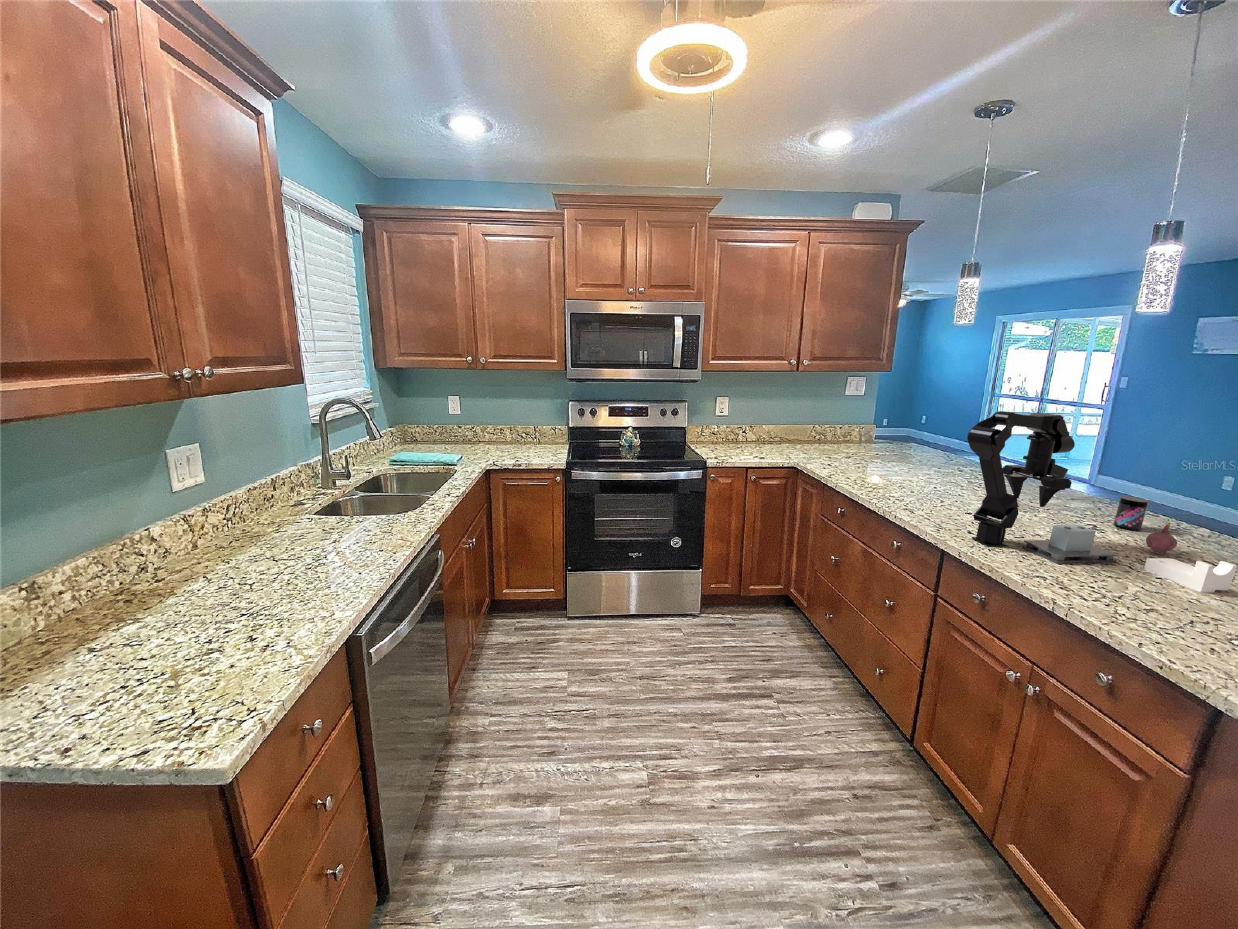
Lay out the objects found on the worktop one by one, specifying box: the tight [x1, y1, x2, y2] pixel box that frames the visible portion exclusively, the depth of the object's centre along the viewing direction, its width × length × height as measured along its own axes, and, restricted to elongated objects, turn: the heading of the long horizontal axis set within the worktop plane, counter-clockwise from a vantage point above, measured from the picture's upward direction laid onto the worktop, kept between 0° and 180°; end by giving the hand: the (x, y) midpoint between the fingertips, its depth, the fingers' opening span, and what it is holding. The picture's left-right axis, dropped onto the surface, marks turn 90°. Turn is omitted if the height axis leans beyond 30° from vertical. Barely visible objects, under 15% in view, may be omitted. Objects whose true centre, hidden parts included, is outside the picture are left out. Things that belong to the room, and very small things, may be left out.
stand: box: [1021, 539, 1119, 565], centre depth 141 cm, size 18×11×2 cm, turn 94°
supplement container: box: [1113, 495, 1150, 532], centre depth 163 cm, size 7×7×10 cm
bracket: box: [1143, 557, 1238, 593], centre depth 125 cm, size 13×7×8 cm, turn 1°
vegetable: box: [1145, 522, 1178, 554], centre depth 142 cm, size 6×6×10 cm
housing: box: [1049, 524, 1097, 551], centre depth 140 cm, size 5×8×6 cm, turn 94°
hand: (1028, 502), depth 151 cm, fingers open, 9 cm apart
